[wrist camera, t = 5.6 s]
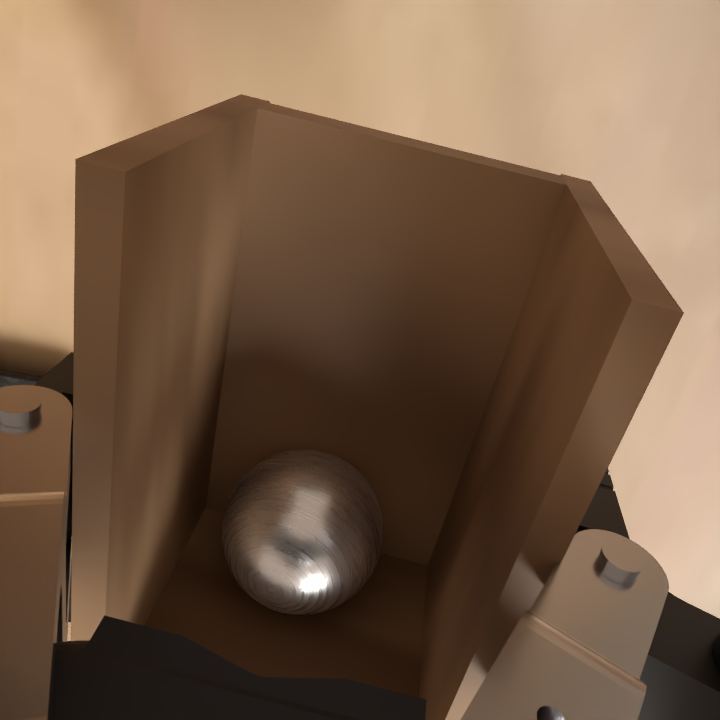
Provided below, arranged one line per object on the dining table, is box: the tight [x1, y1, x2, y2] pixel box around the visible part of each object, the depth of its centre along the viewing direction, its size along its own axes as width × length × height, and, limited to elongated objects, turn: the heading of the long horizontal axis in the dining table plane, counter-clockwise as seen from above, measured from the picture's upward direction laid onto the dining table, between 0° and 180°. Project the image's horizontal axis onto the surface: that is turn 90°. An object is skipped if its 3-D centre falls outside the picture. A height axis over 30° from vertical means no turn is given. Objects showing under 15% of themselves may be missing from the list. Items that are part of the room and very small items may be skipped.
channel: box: [71, 95, 684, 720], centre depth 11 cm, size 9×6×6 cm, turn 168°
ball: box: [222, 449, 383, 615], centre depth 13 cm, size 3×3×3 cm
